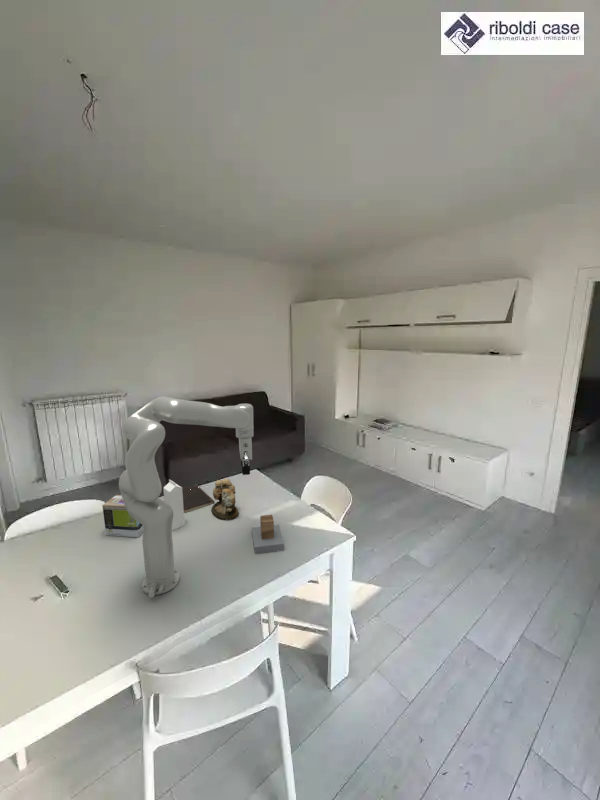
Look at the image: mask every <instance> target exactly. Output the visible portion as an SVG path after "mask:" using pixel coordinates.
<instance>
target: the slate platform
mask: <svg viewBox="0 0 600 800" xmlns="http://www.w3.org/2000/svg"><path fill="white" fill-rule="evenodd" d="M251 535H252V536H251V537H252V546H253V552H254V555H257V554H262V553H264V554H265V553H271V552H272V551H273V552H278V551H277V550H281V551H284V550H285V542H284V539H283V535H282V531H281V528H280V524H274V538H270V539H262V537H261V526H255V527H254V526H253V527H251ZM283 549H284V550H283Z"/></svg>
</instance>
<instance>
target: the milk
mask: <svg viewBox="0 0 600 800" xmlns="http://www.w3.org/2000/svg"><path fill="white" fill-rule="evenodd" d="M168 481H169V482H168V483H167V484H165V485H164V486H163V489H162V490H163V499H164V500H163V501H165V502H167V503H168V504H169V505H170V506H171V508H172V510H173V522H172V532H173V531H175V530H177V529H180V528H182V527H184V526H185V524H186V523H185V513H184V508H183V493H182V488H183V487H182V486H180V485H179V484H177V483H176V482H175V481H173V480H171V479H170V478H169V479H168Z"/></svg>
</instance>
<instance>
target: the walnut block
mask: <svg viewBox="0 0 600 800" xmlns="http://www.w3.org/2000/svg"><path fill="white" fill-rule="evenodd" d="M274 521H275V520H274V517H273V514H265V515H264V514H263V515H260V527H261V537H262V539H270V538H274V525H275V523H274Z"/></svg>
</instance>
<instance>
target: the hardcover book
mask: <svg viewBox="0 0 600 800" xmlns="http://www.w3.org/2000/svg"><path fill="white" fill-rule="evenodd" d="M198 487H199V488H198ZM190 489H191V490H190ZM182 493H183V508H184V514H186V513H189V512H192V511H195V510H197V509H201V508H204V507H207V506H210V505H212V504H213V505H214V504H216V502H215V499H214V498H212V497H210V495H208V493H206V491H204V490H203V489H202V488H201V487H200V486H199V485H198V484H193V485H190V486H186V487H182Z"/></svg>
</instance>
